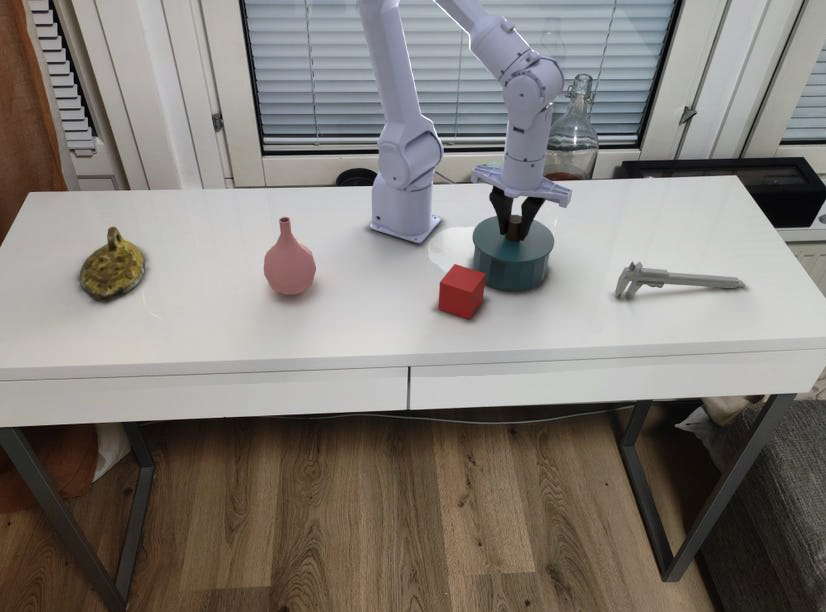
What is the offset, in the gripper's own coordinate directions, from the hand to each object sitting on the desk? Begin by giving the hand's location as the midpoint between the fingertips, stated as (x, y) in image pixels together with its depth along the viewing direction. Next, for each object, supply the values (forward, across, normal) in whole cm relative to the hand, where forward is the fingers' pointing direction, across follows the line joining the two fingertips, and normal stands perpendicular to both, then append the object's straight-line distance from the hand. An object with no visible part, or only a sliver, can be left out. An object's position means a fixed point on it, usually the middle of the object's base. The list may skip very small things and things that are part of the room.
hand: (513, 234), depth 113 cm
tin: (+6, 0, 0) cm, 6 cm away
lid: (+1, 0, 0) cm, 1 cm away
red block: (+6, -3, -12) cm, 14 cm away
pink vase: (+7, -27, -20) cm, 34 cm away
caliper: (+7, +25, +7) cm, 27 cm away
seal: (+7, -53, -30) cm, 61 cm away
